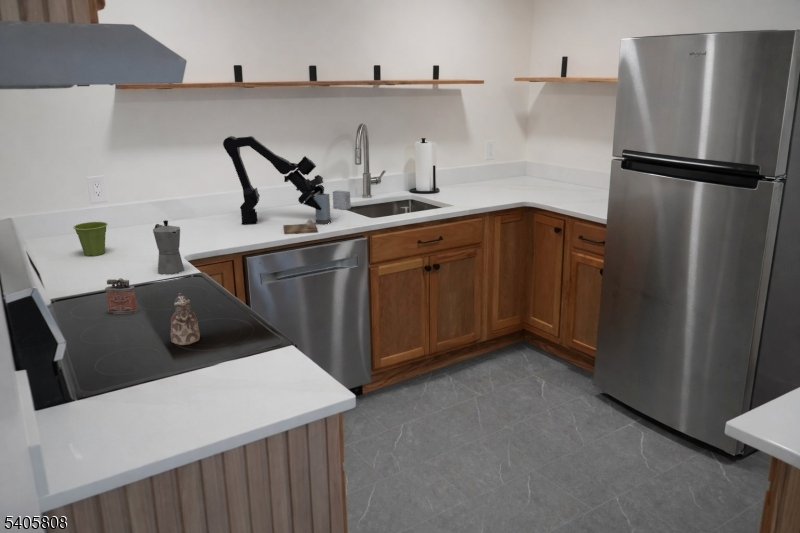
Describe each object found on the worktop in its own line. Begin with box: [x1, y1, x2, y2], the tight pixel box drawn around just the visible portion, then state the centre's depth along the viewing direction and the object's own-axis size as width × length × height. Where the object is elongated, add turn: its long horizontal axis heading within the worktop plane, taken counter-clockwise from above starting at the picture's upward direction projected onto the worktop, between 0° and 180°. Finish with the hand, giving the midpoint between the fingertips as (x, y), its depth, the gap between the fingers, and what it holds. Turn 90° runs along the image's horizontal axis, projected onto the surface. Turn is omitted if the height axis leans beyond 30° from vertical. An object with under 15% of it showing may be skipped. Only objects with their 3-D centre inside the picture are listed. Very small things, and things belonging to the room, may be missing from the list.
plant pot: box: [72, 221, 108, 257], centre depth 249 cm, size 12×12×11 cm
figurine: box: [170, 292, 201, 346], centre depth 169 cm, size 7×7×12 cm
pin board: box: [282, 219, 319, 235], centre depth 284 cm, size 14×13×5 cm
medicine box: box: [332, 189, 352, 211], centre depth 327 cm, size 8×4×9 cm, turn 58°
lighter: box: [104, 277, 138, 315], centre depth 189 cm, size 8×3×10 cm, turn 92°
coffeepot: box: [152, 219, 185, 275], centre depth 227 cm, size 15×9×18 cm, turn 44°
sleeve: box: [315, 193, 332, 225], centre depth 296 cm, size 5×5×13 cm
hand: (324, 207), depth 295 cm, fingers open, 9 cm apart
